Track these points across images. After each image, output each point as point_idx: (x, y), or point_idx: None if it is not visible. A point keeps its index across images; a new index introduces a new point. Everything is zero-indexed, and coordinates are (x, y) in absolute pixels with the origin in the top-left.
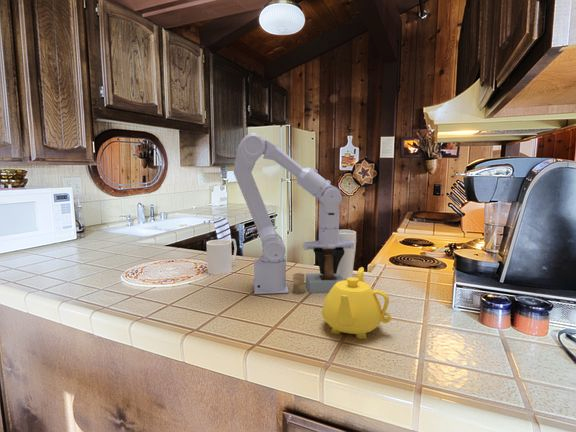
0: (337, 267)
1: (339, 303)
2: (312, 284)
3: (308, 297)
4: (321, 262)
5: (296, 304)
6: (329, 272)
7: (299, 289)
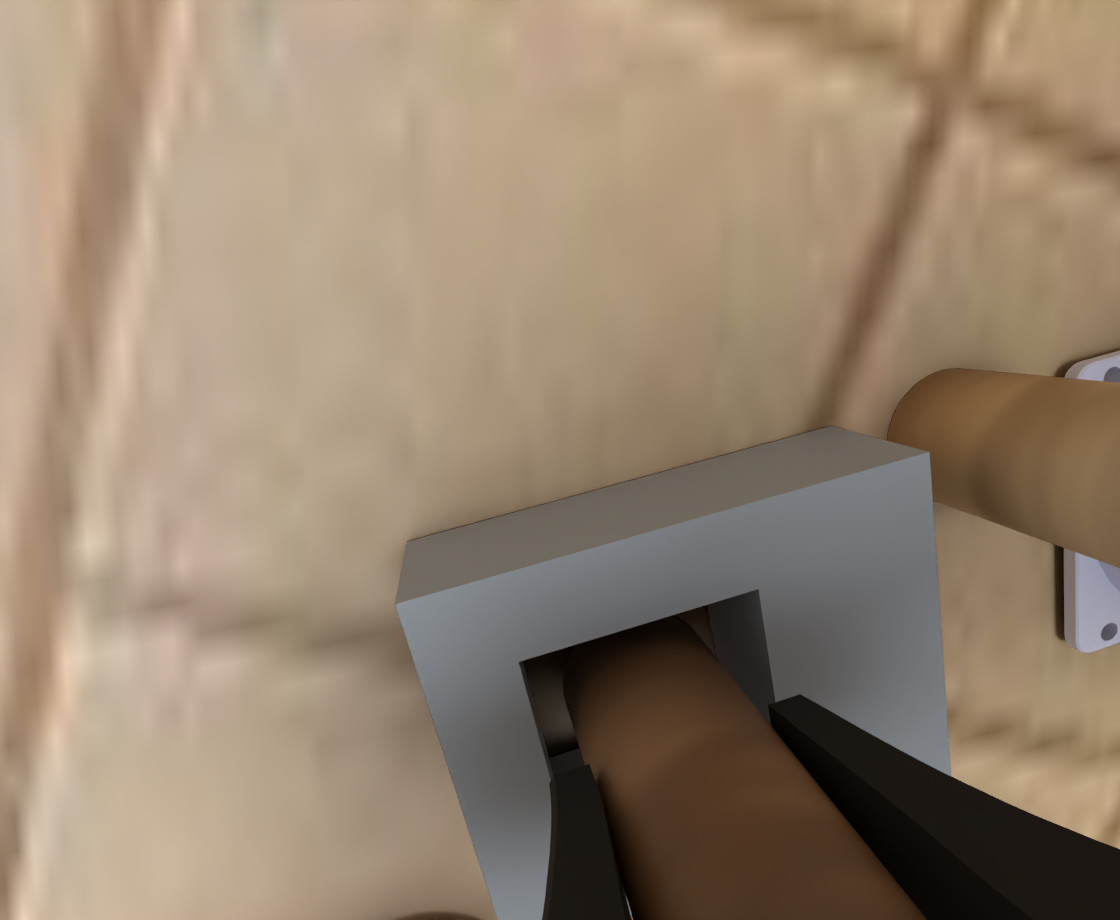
0: (554, 867)
1: None
2: (872, 456)
3: (848, 280)
4: (999, 838)
5: (990, 31)
6: (687, 722)
7: (991, 373)
